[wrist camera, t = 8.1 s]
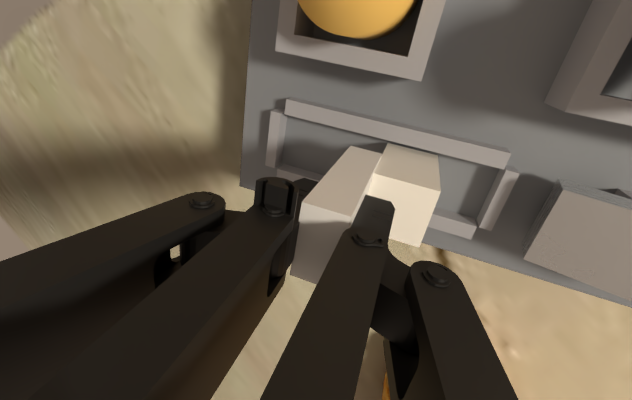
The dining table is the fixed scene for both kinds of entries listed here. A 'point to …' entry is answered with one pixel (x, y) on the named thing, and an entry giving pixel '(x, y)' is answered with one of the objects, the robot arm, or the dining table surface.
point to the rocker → (584, 237)
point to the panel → (454, 109)
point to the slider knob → (407, 190)
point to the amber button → (358, 16)
